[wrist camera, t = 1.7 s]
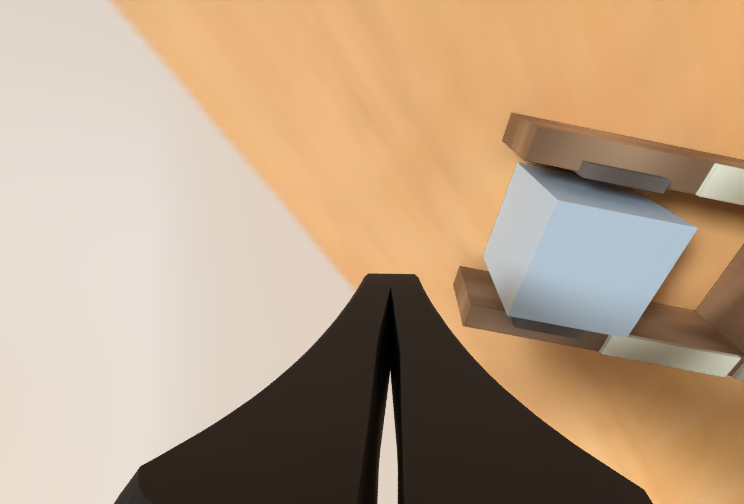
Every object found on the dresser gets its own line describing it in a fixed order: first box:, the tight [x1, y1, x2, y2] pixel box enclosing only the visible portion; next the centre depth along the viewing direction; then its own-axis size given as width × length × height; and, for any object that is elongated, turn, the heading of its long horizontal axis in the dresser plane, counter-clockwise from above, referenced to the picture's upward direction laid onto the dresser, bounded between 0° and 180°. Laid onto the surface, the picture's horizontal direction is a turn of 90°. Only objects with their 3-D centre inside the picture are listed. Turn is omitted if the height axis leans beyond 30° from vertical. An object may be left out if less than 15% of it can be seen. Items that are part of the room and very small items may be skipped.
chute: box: [453, 113, 744, 381], centre depth 17 cm, size 14×9×4 cm, turn 80°
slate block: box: [483, 162, 698, 338], centre depth 16 cm, size 5×5×5 cm
